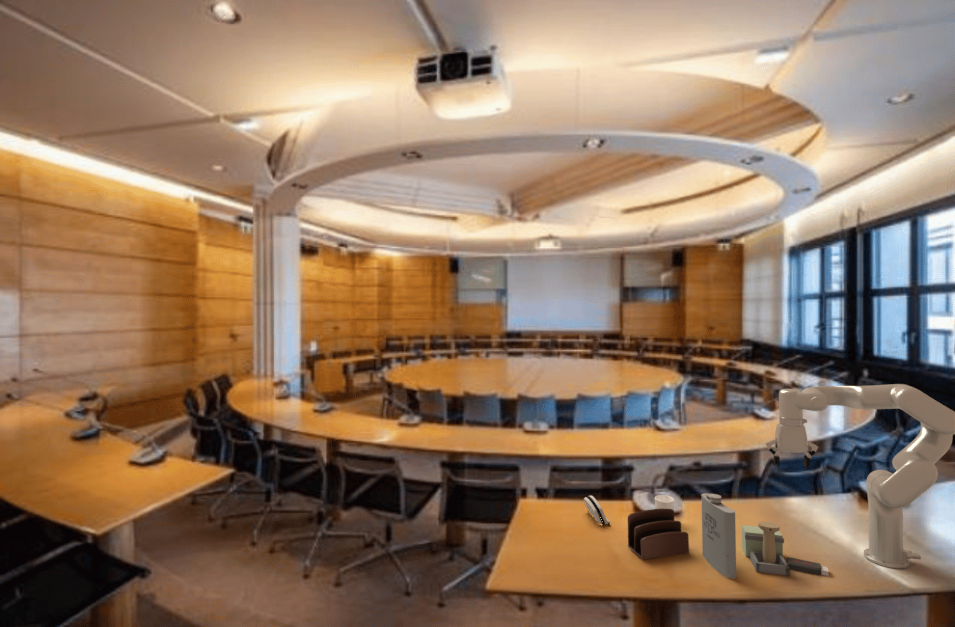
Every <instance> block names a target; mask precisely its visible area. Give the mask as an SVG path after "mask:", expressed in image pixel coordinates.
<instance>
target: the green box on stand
mask: <svg viewBox="0 0 955 627" xmlns="http://www.w3.org/2000/svg"><path fill="white" fill-rule="evenodd" d="M763 535H764V533H763V530H762V529H760V528H759V526H755V525H745V524H742V525H741V549H742V552H743V554H744V556H745V557H747V558H749V560H750V561H751V565H752V566H753V567H754V570H755V572H757V573H762V572H763V573H764V574H772V575H781V576H790V569H789V566H788V564H787V560H786V559H785V558H784V548H783V546H784V545H783V544H784V543H785V538H784V537H783V536H784V535H783V534H782V533H781V531H780V530H779V531H777V532H775V547H776V561H775V564H772V563H764V559H763Z"/></svg>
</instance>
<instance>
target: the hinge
mask: <svg viewBox="0 0 955 627" xmlns="http://www.w3.org/2000/svg"><path fill="white" fill-rule="evenodd" d="M583 502H584V504H585V507H586V509H588V510H589V511H590V513H591V514H592V515H593V516H594V518H595V519H596V521H597V522H598V523H599V524H603V525H605V524H607V525H609V524H610V523H611V521H610V520H609V519H608V518H607V516H606V515H605V513H604V511H603V508H602V506H601V505H600V503H599V502H598V500H597V499H596V498H595V496H593V495H588V496H587V497H586V496H585V497H584V498H583ZM588 510H587V511H588ZM590 513H589V514H590ZM591 514H590V515H591ZM600 517H601V518H600ZM594 518H593V519H594ZM601 519H602V520H601ZM596 521H595V522H596ZM602 521H603V523H602ZM597 522H596V523H597ZM598 523H597V524H598ZM608 523H609V524H608Z"/></svg>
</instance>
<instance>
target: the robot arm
mask: <svg viewBox="0 0 955 627" xmlns="http://www.w3.org/2000/svg"><path fill="white" fill-rule="evenodd" d="M829 406H837V407H839V406H840V407H846V408H851V409H855V410H863V411H864V410H865V411H866V410H867V411H868V410H869V411H870V410H886V409H887V410H892V409H893V410H894V409H897V410H898V409H900V410H901V411H903V412H905V413H906V414H907V415H908V416H911V417H912V418H913V419H915V420H917V422H920V431H919V433H918V435H917V436H916V437H915V438H914V439H913V440H912V441H911V442H910V443H908V444H907V445H906V446H905V447H904V448H903V449H902V450H900V451H899V452H897V454H895V455H894V457H893V458H892V467H893V468H894V469H895V472H891V471H888V470H886V469H877V470H873V471H871V472H870V473H869V474H868V475H867V478H866V483H865V485H866V486H865V487H866V492H867V494H866V495H867V502H868V505H867V506H868V548H865V549H864V550H863V556H864V557H865V558H866V559H867V560H868V559H869V561H870V562H872V563H874V564H876V563H877V565H880V566H883V567H887V568H891V569H907V568H909V567H910V560H911V559H912V560H921V559H922V557H921V554H920V553H917V552H912V551H913V550H907V549H904V510H903V508H906V507H907V506H909V505H911V504H912V503H913V502H915V501H916V500H918V498H920V497H921V496H922V495H923V494H924V493H925V492H927V491H928V490H929V489H930V488H932V487H933V486H934V484H935V483H936V482H937V480H938V477H939V471H938V469H937V468H938V467H937V466H936V465H935V464H936V463H937V462H938V461H939V460H940V459H942V457H943V456H944V455H945V454H946V453H947V452H948V451H949V450H950V448H951V446H952V444H953V436H954V435H955V411H954V410H953V409H950V408H949V407H947V406H946V405H945V404H944V405H943V404H942V403H940V402H939V401H937V400H935V399H934V398H932V397H931V396H929V395H928V394H926V393H924V392H923V391H921V390H920V389H918V388H915V387H914V386H910V385H908V384H906V383H905V384H904V383H894V384H874V385H823V386H809V387H805V388H804V389H803V390H799V389H795V388H781V389H780V390H779V391H778V410H779V411H778V412H779V413H778V414H779V418H778V419H779V421H778V422H779V423H777V424H776V427H775V435H774V439H772V440H770V441H767V442H766V443H765V447H766V448H767V449H768V451H769V452H770V453H771V454H773V464H774V465H775V466H776V467H777V468H779V467H780V466H781V462H780V460H781V459H780V456H779V455H780V454H781V453H782V452H783V453H794V454H795V453H796V454H797V453H799V454H801V453H802V454H804V456H803V466H804V468H805V469H807V470H808V469H809V467H810V466H811V459H812V457H813V456H814V455H815V454H816V452H817V450H818V449H819V446H818V445H816V444H814V443H812V442H810V441H809V440H808V435H807V430H806V426H805V425H804V424H807V423H808V420H807V418H806V419H805V418H803V416H804V414H803V411H811V412H823V411H825V410H826V409H827V408H828V407H829ZM773 446H774V447H775V449H773V448H772V447H773ZM809 447H811V449H810V450H809Z"/></svg>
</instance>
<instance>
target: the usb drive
mask: <svg viewBox="0 0 955 627" xmlns="http://www.w3.org/2000/svg"><path fill="white" fill-rule="evenodd" d="M786 563H787V564H788V566H789V570H793V571H797V572H800V573H801V572H802V573H806V574H810V575H814V576H815V575H816V576H824V577H829V569H828V567H827V566H823V565H821V563H819V562H814V561H808V560H804V559H799V558H795V557H790V556H788V557H786Z"/></svg>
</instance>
